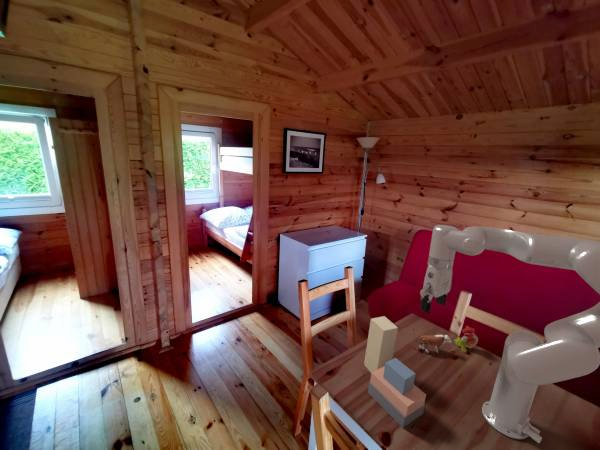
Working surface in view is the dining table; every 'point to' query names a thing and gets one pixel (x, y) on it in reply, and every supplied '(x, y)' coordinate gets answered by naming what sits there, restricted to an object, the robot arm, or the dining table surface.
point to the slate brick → (399, 376)
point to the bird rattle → (467, 339)
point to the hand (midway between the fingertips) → (432, 307)
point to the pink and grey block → (396, 399)
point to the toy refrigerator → (380, 343)
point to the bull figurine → (433, 341)
